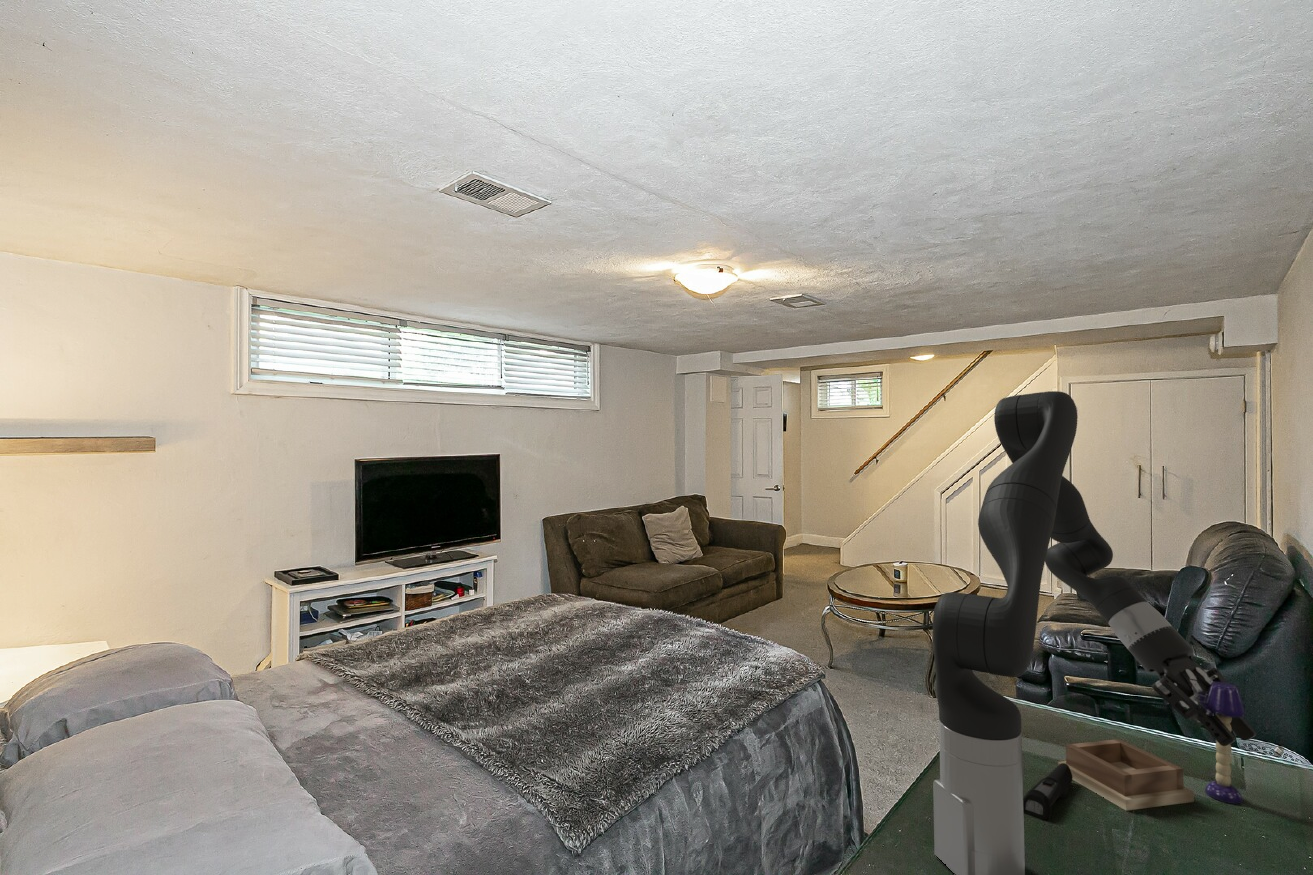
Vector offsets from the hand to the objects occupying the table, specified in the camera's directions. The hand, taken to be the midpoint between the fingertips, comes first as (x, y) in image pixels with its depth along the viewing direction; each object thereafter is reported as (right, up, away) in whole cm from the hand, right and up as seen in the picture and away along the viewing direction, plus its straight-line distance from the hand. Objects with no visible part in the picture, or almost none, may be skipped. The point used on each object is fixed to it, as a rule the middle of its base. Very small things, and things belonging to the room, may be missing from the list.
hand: (1240, 740), depth 94 cm
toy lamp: (-1, -9, +1) cm, 9 cm away
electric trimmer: (-27, -10, +2) cm, 29 cm away
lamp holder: (-14, -9, +5) cm, 17 cm away
